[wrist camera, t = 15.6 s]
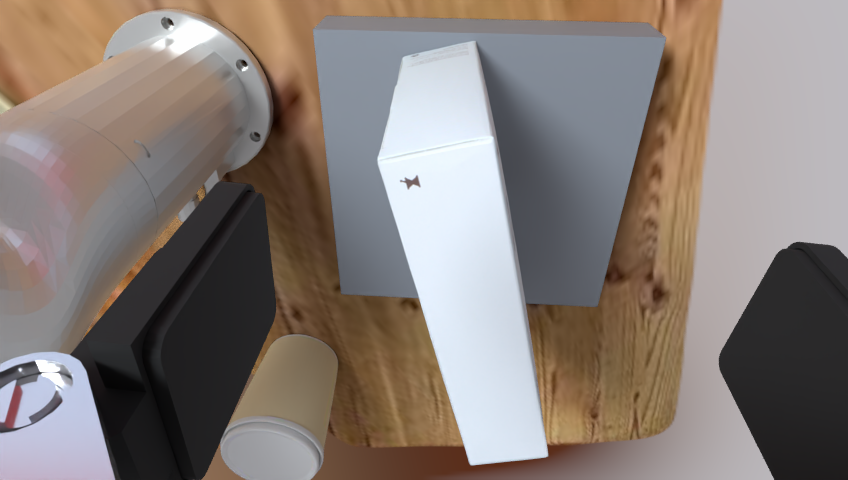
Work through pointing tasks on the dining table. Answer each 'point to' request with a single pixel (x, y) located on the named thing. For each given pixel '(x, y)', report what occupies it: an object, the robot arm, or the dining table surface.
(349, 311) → the dining table surface
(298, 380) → the coffee cup
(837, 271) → the robot arm
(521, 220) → the podium
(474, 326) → the skincare box
